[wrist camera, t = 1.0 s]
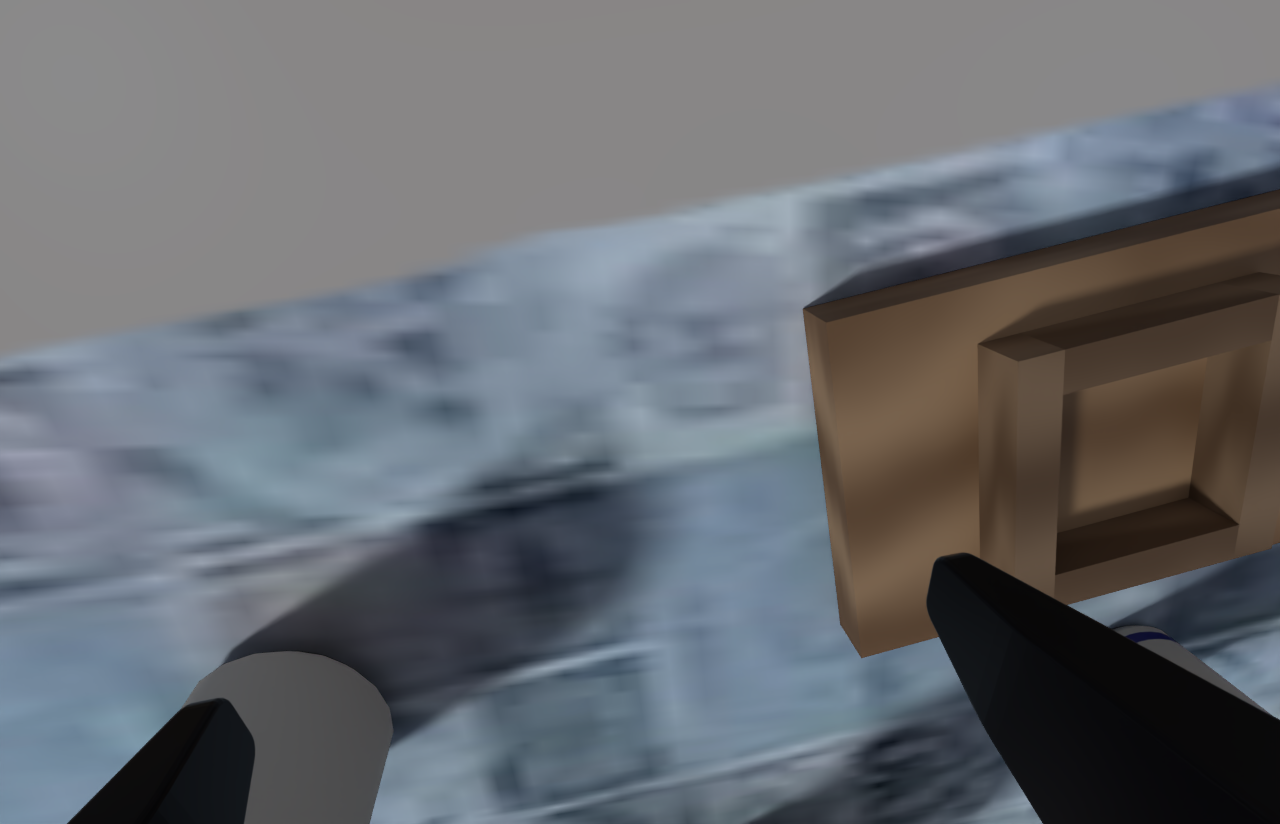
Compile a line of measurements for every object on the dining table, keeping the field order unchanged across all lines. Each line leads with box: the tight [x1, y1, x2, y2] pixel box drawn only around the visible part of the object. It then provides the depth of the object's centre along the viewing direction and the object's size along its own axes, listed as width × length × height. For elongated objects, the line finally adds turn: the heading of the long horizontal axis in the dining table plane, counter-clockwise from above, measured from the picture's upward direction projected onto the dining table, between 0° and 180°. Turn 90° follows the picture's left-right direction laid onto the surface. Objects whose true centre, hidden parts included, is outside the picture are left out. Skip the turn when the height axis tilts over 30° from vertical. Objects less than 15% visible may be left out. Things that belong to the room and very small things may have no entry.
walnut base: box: [803, 189, 1280, 658], centre depth 24 cm, size 14×20×4 cm
